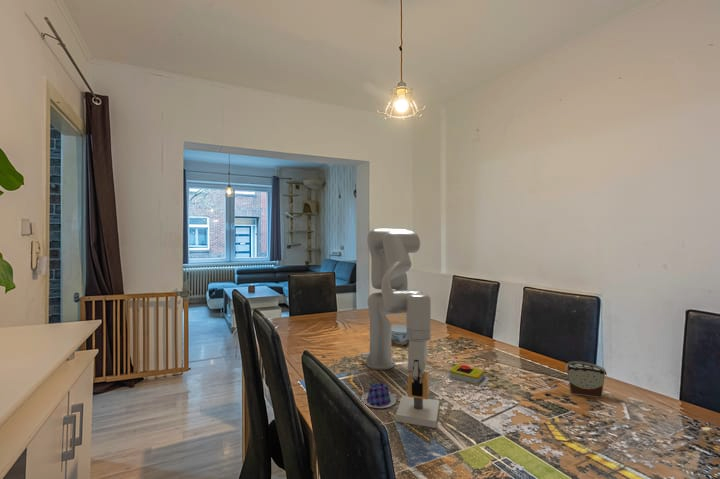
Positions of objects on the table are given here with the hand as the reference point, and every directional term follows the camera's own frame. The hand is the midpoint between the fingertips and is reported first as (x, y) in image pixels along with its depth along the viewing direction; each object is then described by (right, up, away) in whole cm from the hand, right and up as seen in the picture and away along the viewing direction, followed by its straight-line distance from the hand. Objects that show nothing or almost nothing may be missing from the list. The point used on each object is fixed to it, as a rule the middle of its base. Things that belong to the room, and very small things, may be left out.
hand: (418, 390), depth 103 cm
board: (0, -7, 0) cm, 7 cm away
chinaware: (+4, -8, +72) cm, 73 cm away
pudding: (-12, -8, +9) cm, 17 cm away
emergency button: (+25, -8, +28) cm, 38 cm away
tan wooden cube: (0, -1, 0) cm, 1 cm away
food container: (+62, -8, +15) cm, 65 cm away
